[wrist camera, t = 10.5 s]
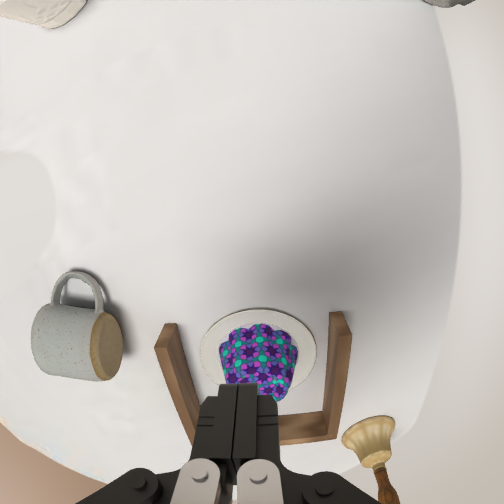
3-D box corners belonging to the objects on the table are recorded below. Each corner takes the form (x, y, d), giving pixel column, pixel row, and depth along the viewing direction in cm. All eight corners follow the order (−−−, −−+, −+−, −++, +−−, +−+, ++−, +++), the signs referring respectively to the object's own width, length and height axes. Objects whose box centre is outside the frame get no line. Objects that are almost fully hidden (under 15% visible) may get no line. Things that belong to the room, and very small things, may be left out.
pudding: (222, 399, 33) (219, 432, 28) (183, 320, 29) (171, 352, 24) (322, 379, 32) (330, 413, 27) (303, 291, 28) (313, 322, 23)
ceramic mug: (132, 355, 30) (108, 402, 23) (74, 347, 30) (44, 386, 23) (112, 267, 27) (73, 304, 20) (50, 266, 27) (8, 297, 20)
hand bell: (329, 442, 36) (347, 535, 21) (369, 410, 33) (402, 509, 18) (367, 450, 37) (389, 531, 22) (404, 420, 35) (438, 504, 20)
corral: (341, 311, 28) (352, 334, 24) (330, 415, 33) (336, 438, 30) (164, 323, 29) (153, 347, 25) (196, 423, 34) (192, 446, 30)
